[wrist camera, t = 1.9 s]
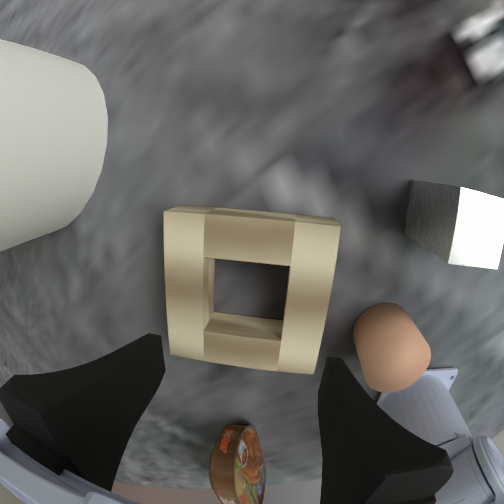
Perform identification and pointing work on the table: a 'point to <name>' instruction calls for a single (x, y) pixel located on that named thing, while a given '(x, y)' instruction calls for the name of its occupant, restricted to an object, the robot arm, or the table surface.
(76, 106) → the cylinder
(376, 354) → the round peg
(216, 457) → the tin
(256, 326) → the bore block
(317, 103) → the table surface
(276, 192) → the table surface
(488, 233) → the square peg
